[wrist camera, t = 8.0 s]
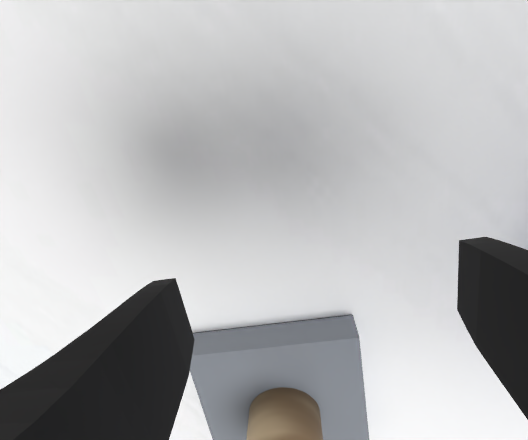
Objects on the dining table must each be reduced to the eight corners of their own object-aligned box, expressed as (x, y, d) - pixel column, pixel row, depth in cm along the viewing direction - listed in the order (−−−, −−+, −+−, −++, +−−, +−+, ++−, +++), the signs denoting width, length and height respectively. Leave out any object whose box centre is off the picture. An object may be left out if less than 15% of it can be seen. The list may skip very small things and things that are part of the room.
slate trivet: (352, 314, 22) (359, 337, 20) (364, 430, 26) (371, 458, 24) (192, 333, 23) (185, 356, 21) (226, 441, 27) (222, 468, 25)
